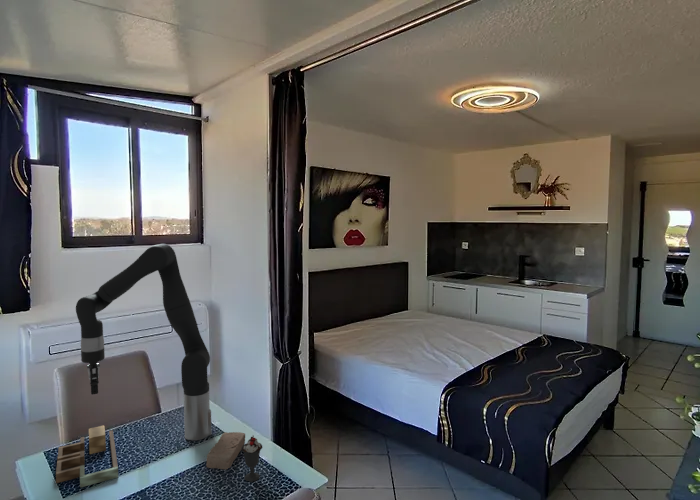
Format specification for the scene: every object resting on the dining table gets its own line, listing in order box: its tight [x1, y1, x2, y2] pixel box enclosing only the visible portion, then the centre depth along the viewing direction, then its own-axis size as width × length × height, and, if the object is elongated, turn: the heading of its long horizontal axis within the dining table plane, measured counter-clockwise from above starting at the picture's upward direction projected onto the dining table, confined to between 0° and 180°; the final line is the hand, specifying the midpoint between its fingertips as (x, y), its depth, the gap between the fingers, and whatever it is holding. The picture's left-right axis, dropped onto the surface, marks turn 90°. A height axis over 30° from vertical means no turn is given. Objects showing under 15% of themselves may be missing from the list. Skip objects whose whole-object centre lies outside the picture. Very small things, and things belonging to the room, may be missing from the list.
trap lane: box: [55, 430, 119, 488], centre depth 145 cm, size 17×29×3 cm, turn 32°
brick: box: [206, 431, 246, 470], centre depth 151 cm, size 17×8×5 cm, turn 175°
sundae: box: [240, 435, 263, 483], centre depth 138 cm, size 7×7×15 cm
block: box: [88, 425, 107, 455], centre depth 155 cm, size 5×8×6 cm, turn 32°
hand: (94, 389), depth 161 cm, fingers open, 8 cm apart
